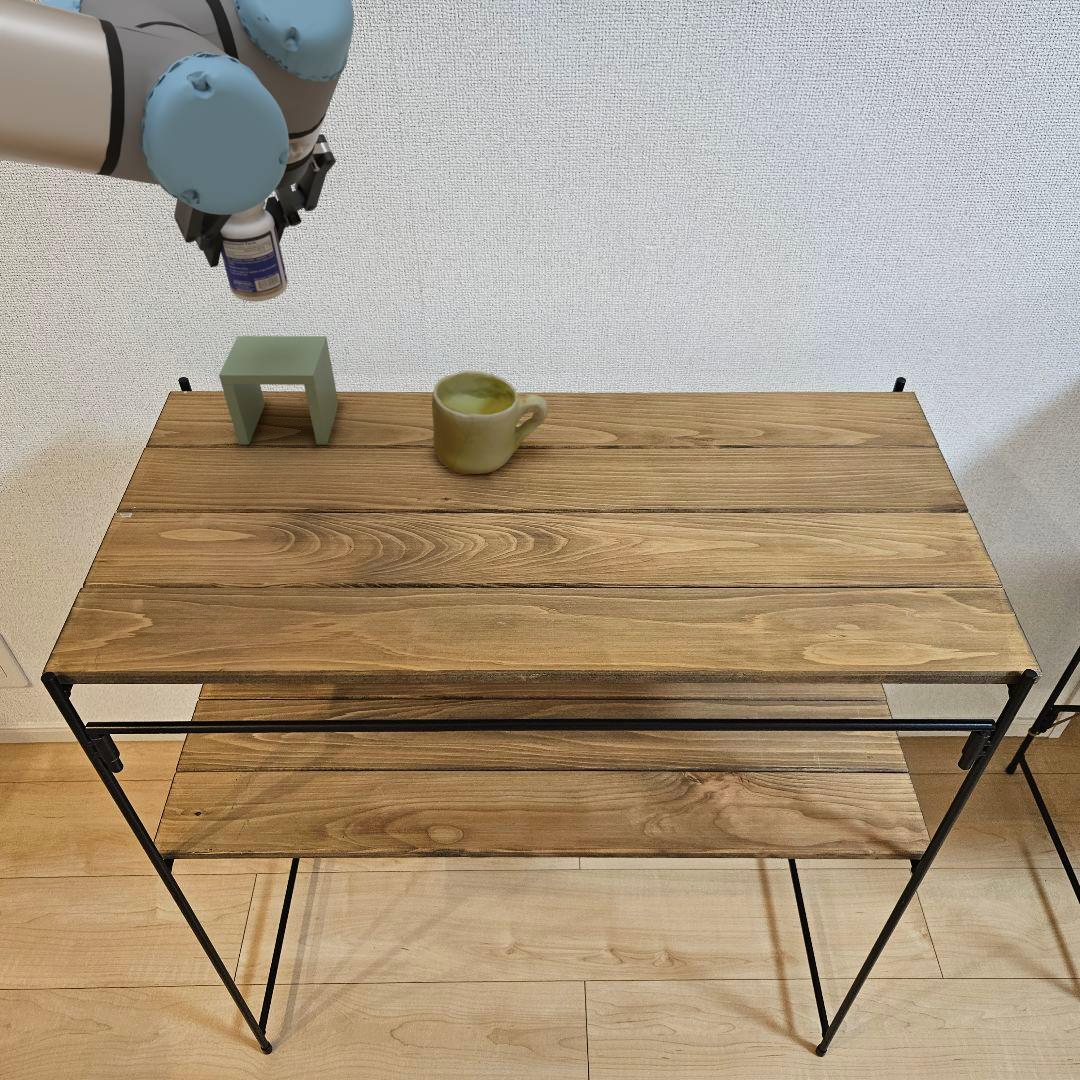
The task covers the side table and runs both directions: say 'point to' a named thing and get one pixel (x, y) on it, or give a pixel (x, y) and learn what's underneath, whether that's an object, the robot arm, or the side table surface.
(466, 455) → the mug
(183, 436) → the side table surface
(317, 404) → the shelf
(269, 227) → the pill bottle
